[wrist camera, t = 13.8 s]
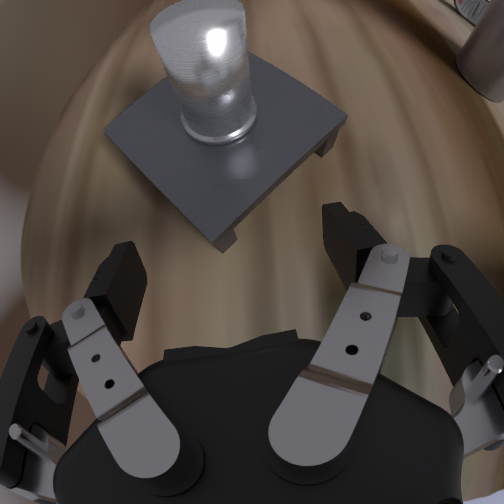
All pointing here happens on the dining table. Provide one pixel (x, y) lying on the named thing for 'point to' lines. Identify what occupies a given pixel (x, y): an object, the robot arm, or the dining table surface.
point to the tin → (471, 9)
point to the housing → (207, 67)
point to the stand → (227, 149)
